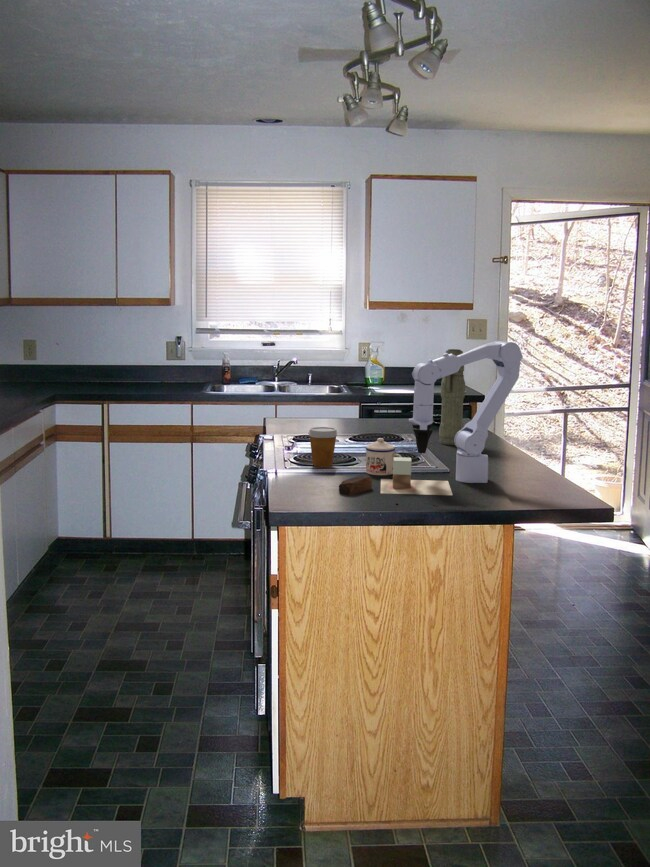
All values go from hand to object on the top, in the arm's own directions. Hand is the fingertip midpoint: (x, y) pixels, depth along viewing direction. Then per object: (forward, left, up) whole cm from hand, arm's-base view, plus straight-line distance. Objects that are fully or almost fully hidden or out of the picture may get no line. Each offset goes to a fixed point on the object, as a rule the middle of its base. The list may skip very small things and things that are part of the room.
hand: (421, 450), depth 255 cm
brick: (+19, +14, -11) cm, 26 cm away
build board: (+2, +7, -10) cm, 13 cm away
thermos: (-14, -71, -11) cm, 73 cm away
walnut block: (+6, +7, -9) cm, 13 cm away
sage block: (+6, +7, -5) cm, 10 cm away
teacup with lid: (+11, -11, -11) cm, 19 cm away
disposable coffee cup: (+31, -24, -11) cm, 40 cm away
